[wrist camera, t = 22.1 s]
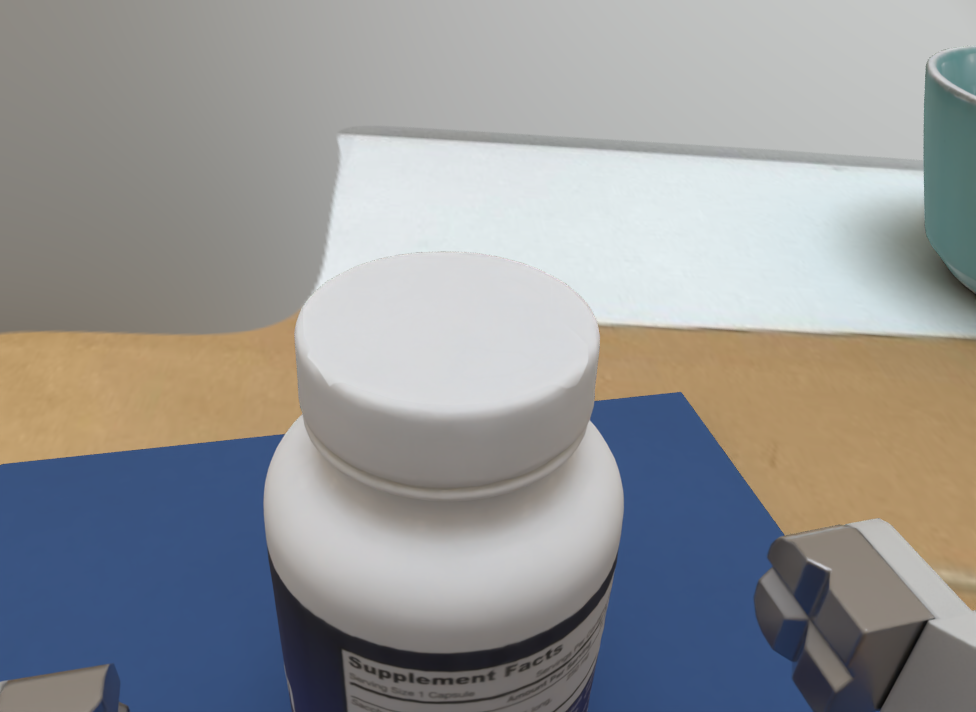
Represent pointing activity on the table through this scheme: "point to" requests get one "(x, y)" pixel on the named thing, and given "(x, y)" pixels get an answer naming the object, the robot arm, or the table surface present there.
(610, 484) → the pill bottle
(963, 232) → the bowl
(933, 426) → the table surface
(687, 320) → the table surface
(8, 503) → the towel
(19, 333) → the table surface
